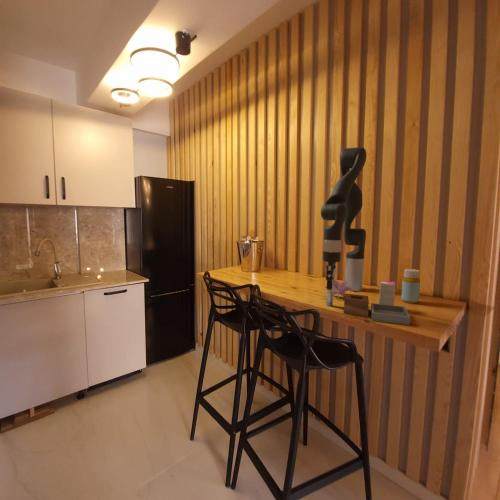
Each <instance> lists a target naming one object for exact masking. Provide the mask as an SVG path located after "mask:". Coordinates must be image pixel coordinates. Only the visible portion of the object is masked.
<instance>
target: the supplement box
mask: <svg viewBox="0 0 500 500" xmlns="http://www.w3.org/2000/svg"><path fill="white" fill-rule="evenodd" d="M396 283H397V282H396V281H389V280H381V281H380V285H379V297H378V304H385V305H394V304H395V294H396ZM394 306H395V305H394Z"/></svg>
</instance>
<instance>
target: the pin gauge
mask: <svg viewBox="0 0 500 500" xmlns="http://www.w3.org/2000/svg"><path fill="white" fill-rule="evenodd" d="M334 279H335V278H334ZM334 279H333V281H332V290H328V289H327V288H326V295H325V297H326V301H325V302H326V303H325V305H327V306H326V307H329V306H331V307H333V305H334V304H333V303H334V295H333V287H334Z"/></svg>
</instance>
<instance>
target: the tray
mask: <svg viewBox="0 0 500 500" xmlns="http://www.w3.org/2000/svg"><path fill="white" fill-rule="evenodd" d="M370 317H371V318H370V319H371V321H373V322H381V323H387V324H394V325H404V326H411V316H410V314H409V312H408V310H407V308H406V306H403V305H385V304H379V303H375V302H371V303H370Z"/></svg>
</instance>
